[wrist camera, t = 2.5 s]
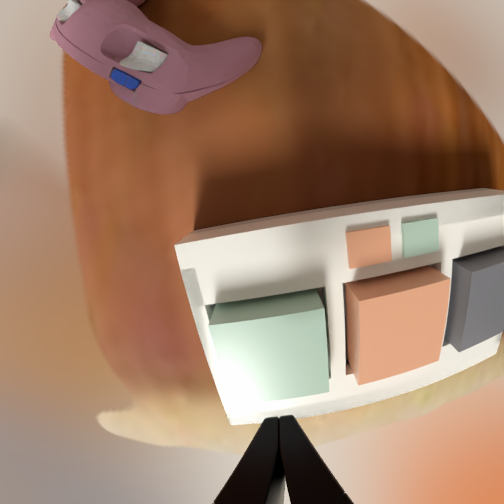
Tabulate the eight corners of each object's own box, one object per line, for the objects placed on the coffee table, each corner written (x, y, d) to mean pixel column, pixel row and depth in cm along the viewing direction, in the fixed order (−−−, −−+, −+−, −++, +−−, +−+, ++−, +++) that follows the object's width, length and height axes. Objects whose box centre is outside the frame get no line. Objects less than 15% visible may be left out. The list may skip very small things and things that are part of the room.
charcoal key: (498, 245, 11) (522, 255, 9) (489, 312, 12) (509, 327, 10) (446, 258, 11) (471, 272, 9) (439, 332, 12) (458, 352, 10)
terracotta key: (426, 263, 11) (450, 278, 9) (420, 338, 12) (438, 360, 10) (344, 280, 11) (358, 301, 9) (347, 358, 12) (358, 385, 10)
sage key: (314, 286, 12) (324, 308, 9) (321, 363, 13) (329, 391, 11) (217, 301, 12) (208, 325, 10) (237, 375, 13) (232, 404, 11)
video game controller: (116, 35, 12) (22, 44, 6) (151, -22, 9) (56, -37, 4) (222, 116, 13) (129, 150, 8) (278, 52, 10) (203, 26, 5)
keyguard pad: (484, 187, 12) (519, 193, 9) (473, 332, 14) (497, 355, 11) (193, 230, 13) (172, 246, 10) (235, 389, 16) (230, 427, 13)
